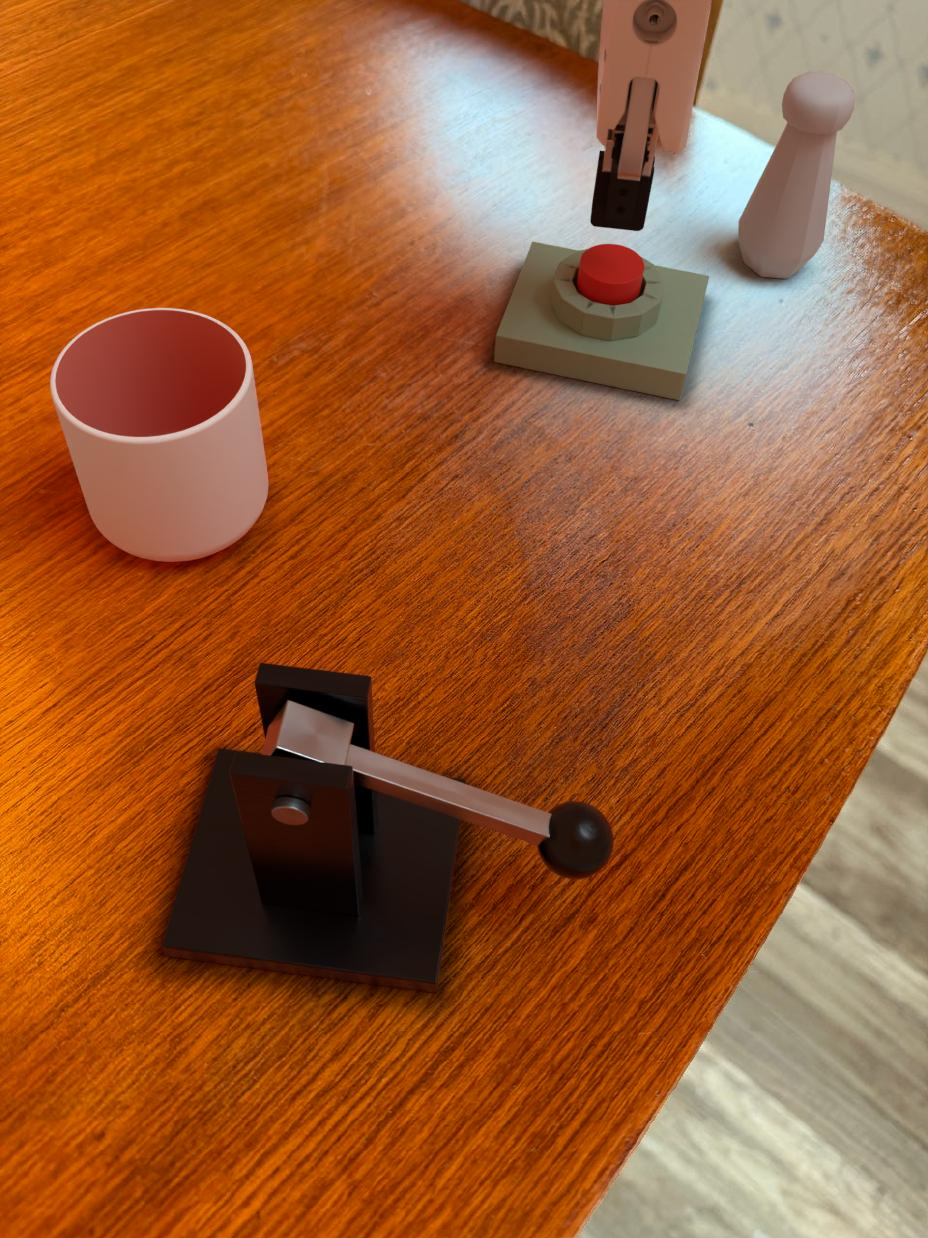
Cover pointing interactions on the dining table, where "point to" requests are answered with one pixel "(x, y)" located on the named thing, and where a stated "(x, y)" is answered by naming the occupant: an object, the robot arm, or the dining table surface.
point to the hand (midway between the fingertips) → (616, 220)
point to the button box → (601, 325)
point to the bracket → (314, 858)
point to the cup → (163, 431)
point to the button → (610, 274)
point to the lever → (447, 792)
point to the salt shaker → (796, 178)
